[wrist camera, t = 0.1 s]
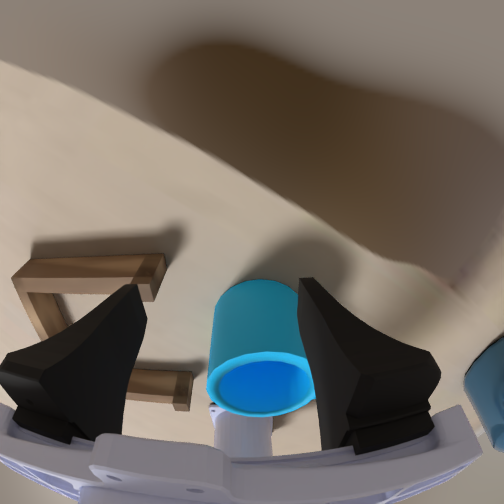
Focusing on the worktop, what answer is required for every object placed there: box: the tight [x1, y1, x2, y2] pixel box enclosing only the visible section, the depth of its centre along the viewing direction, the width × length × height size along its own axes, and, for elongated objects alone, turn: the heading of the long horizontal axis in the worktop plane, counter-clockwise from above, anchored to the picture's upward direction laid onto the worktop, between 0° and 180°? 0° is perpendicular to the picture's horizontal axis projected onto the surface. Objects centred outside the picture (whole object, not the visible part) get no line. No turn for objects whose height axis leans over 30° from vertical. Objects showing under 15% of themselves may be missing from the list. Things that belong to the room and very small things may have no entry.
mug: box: [206, 279, 316, 417], centre depth 23 cm, size 12×8×8 cm
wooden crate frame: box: [11, 254, 194, 411], centre depth 24 cm, size 16×15×4 cm
